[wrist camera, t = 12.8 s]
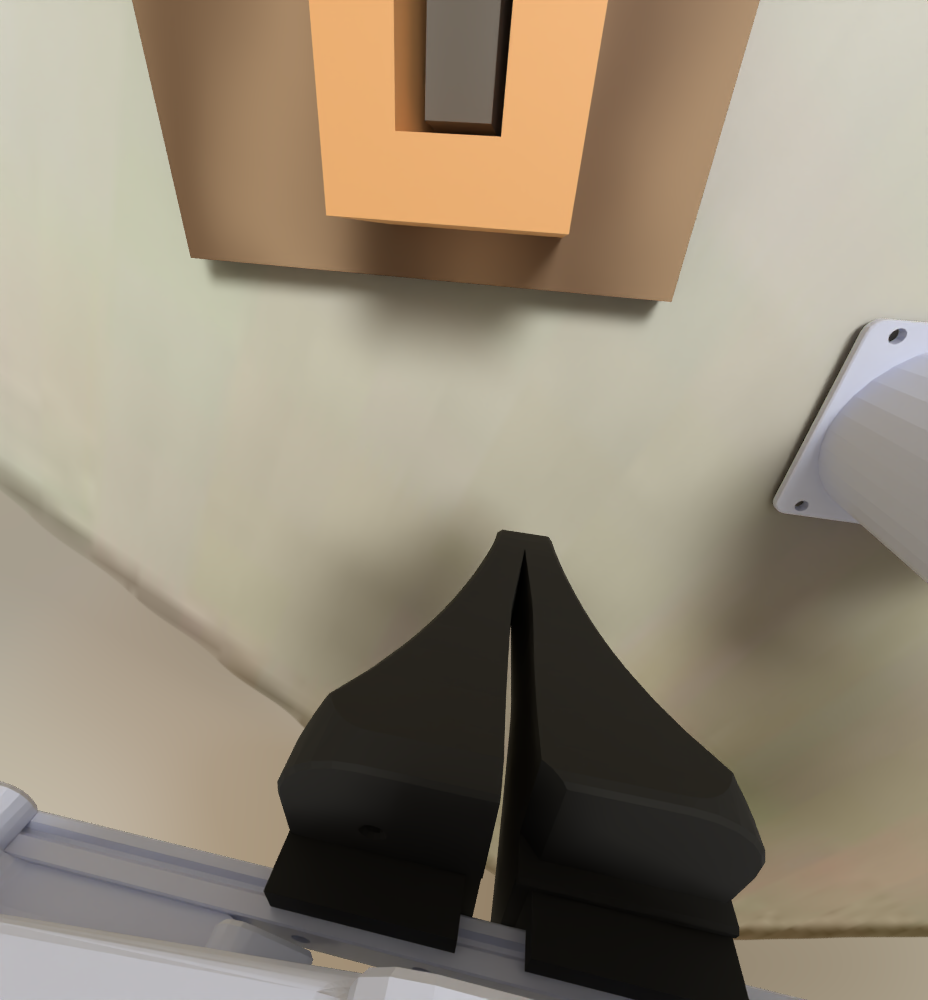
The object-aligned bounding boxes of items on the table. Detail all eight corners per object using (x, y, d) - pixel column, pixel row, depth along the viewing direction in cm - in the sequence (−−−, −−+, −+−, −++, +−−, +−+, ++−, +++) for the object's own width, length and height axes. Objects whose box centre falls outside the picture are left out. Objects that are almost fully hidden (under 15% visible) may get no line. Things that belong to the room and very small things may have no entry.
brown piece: (783, -137, 11) (963, -427, 6) (661, 297, 16) (708, 318, 11) (137, -131, 13) (-100, -349, 8) (216, 256, 18) (99, 260, 13)
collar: (637, -230, 10) (708, -602, 5) (562, 237, 14) (569, 234, 10) (380, -222, 10) (263, -551, 6) (388, 224, 15) (326, 215, 11)
